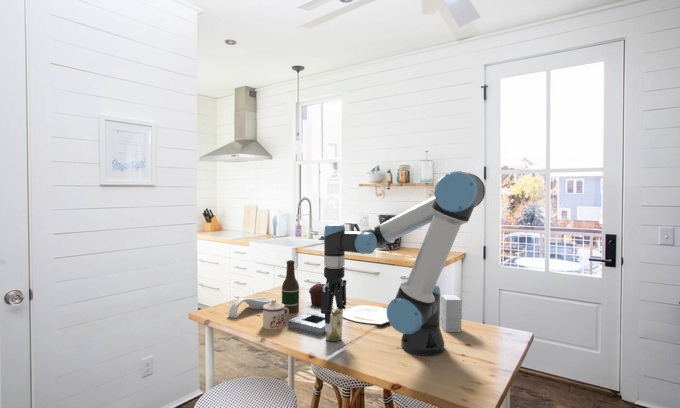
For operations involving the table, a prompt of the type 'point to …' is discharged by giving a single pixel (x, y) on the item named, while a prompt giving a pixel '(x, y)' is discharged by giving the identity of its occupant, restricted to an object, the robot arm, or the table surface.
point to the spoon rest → (252, 302)
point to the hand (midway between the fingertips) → (333, 328)
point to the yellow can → (335, 327)
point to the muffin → (316, 295)
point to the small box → (450, 313)
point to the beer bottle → (290, 289)
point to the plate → (367, 314)
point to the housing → (309, 323)
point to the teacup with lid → (274, 315)
